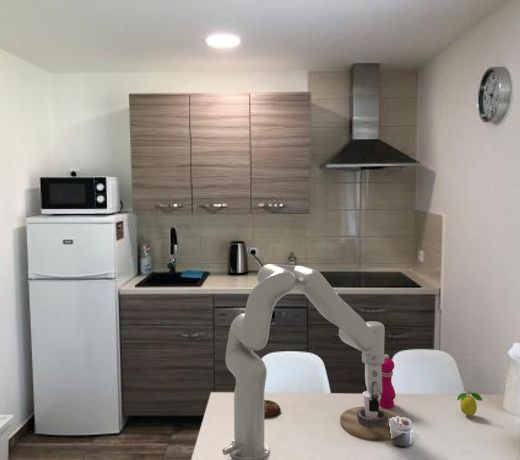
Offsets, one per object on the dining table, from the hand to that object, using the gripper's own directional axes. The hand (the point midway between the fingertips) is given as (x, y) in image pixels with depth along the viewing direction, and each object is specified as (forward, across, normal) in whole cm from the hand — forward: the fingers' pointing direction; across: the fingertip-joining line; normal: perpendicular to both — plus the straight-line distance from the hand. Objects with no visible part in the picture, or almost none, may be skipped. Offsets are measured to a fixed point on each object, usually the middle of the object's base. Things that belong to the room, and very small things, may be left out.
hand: (372, 405), depth 170 cm
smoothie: (+6, 0, 0) cm, 6 cm away
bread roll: (+8, +7, +38) cm, 40 cm away
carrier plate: (+7, 0, 0) cm, 7 cm away
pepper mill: (+7, +16, -7) cm, 19 cm away
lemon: (+7, +10, -36) cm, 38 cm away
